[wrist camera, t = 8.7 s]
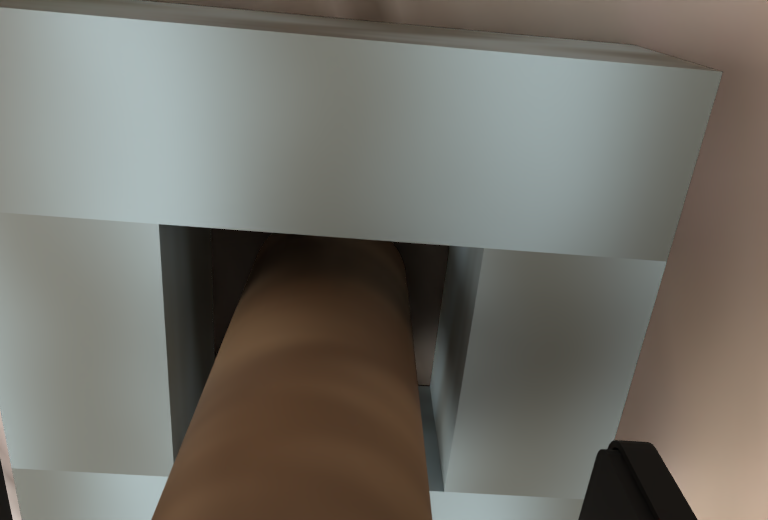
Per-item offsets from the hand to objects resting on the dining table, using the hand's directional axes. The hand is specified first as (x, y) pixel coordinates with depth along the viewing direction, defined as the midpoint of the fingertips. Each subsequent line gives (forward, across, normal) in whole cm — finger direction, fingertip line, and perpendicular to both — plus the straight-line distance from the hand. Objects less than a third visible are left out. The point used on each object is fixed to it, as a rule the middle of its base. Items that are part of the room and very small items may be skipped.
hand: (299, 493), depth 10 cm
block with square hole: (+7, 0, 0) cm, 7 cm away
